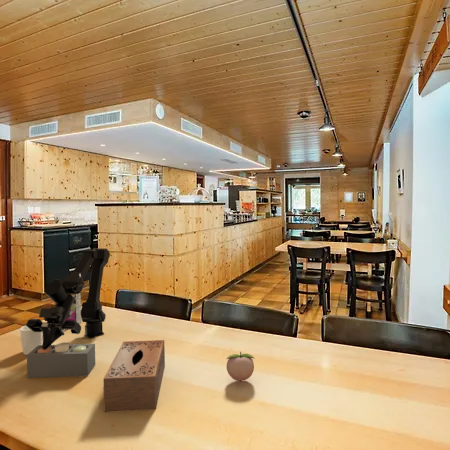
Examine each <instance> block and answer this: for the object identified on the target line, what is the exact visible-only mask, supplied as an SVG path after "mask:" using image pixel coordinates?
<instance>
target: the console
mask: <svg viewBox="0 0 450 450" xmlns="http://www.w3.org/2000/svg"><path fill="white" fill-rule="evenodd" d="M42 345H43V344H42ZM42 345H38V346H37V347H36V348H35V349H33V350H32V351H31V352H30V353H29V354H27V355H26V366H27V367H26V368H27V379H37V378H66V377H67V378H69V377H73V378H74V377H88V376H89V375H90V374H91V373H92V371H93V369H94V368H95V366H96V343H72V344H71V343H69V350H68V351H67V352H55V345H56V344H51V345H50V346H49V347H51V348H52V350H51V351H50V352H49V353H37V351H38V349H40V348H42ZM77 346H86V350H85V351H84V352H73V348H75V347H77Z"/></svg>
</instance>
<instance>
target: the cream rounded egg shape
mask: <svg viewBox="0 0 450 450" xmlns="http://www.w3.org/2000/svg"><path fill="white" fill-rule="evenodd" d="M69 344H70V343H69V342H66V341H65V342H59V343H56V344H54V345H55V352H67V351H68V350H69Z"/></svg>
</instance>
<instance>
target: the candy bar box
mask: <svg viewBox="0 0 450 450" xmlns="http://www.w3.org/2000/svg"><path fill="white" fill-rule="evenodd" d="M81 293H82V291H81V292H80V293H79V294H71V295H72V296H73V297H75V300H76V304H72V306H71V309H70V311H69V314H70V316H69V317H67V318H66V320H76V321H77V322H78V324H79V325H81V323H82V318H81V309H82V302H81V301H82V300H81V299H82V297H81V295H82V294H81ZM55 304H56V302H54V305H55ZM66 320H65V321H66Z"/></svg>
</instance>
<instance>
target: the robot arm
mask: <svg viewBox="0 0 450 450" xmlns="http://www.w3.org/2000/svg"><path fill="white" fill-rule="evenodd" d="M82 253H83V254H82V256H81V258H80V259H79V261H78V263H77V264H76V266H75V268H74V269H73V271H72V273H70V274H68V275H66V277H65V278H64V279H63V280H61V279H54V280H53V281H52V282H50V283H48V284H47V285H45V287H44V293H45V295H47V297H48V298H49V299H50V300H51V301H52V302H53V303H54V306H52V307H50V308H44V307H43V308H40V311H39V315H38V318H30V319H28V320H27V322H26V324H25V325H26V326H27V327H28V328H29V329H31V330H32V331H33V332H43V338H42V340H43V341H42V349H43V350H46V349H47V348H48V347H49V346H50V345H53V344H54V343H55V342H56V341H57V340H58V339H59V338H61V337H62V336H64V335H65V331H66V330H70V332H71V334H72V335H73V334H74V335H79V334H80V333H81V331H82V326H81V324H78V322H77V321H76V320H66V318H67V317H69V316H70V314H69V311H70V309H71V306H72V304H76V300H75V297H73V296H72V295H71V294H79V293H80V292H81V293H82V290H83V289H84V286H85V282H84V279H85V277H86V276H87V273H88V272H89V270H90V268H91V274H90V281H89V287H88V294H87V298H86V300H85V301H84V302H81V323H85V325H84V335H85V336H87V337H88V338H89V339H92V338H96V337H99V336H104V335H105V332H104V331H103V323H104V322H105V320H106V314H105V312H104V311H103V304H102V302H101V301H100V296H101V288H102V281H103V273H104V268H105V267H106V265H107V264H108V263H109V259H110V256H111V252H110V250H108V248H107V247H106V248H100V247H99V248H95V247H93V248H92V249H85V250H83V252H82ZM91 266H92V267H91ZM55 302H56V304H55ZM39 318H40V319H39ZM41 318H43V320H44V322H43V321H42V320H41ZM65 320H66V321H65Z"/></svg>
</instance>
